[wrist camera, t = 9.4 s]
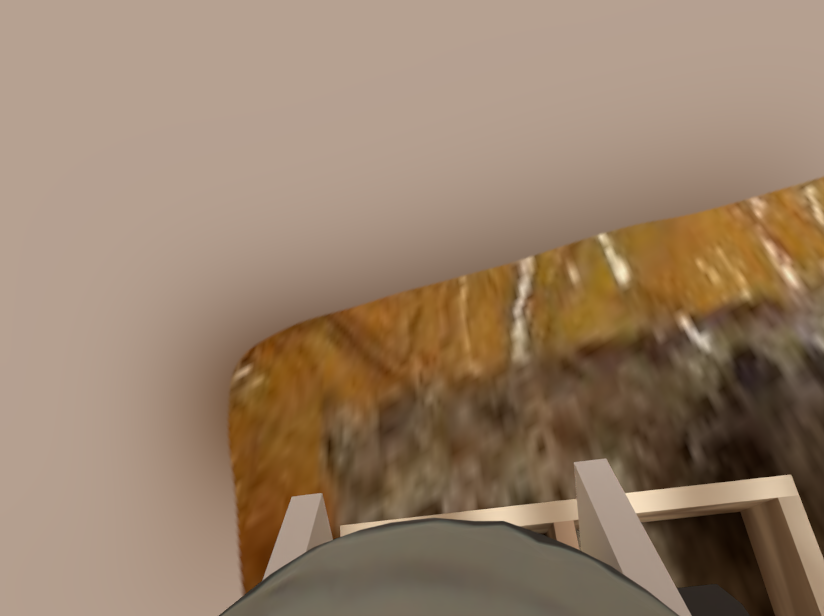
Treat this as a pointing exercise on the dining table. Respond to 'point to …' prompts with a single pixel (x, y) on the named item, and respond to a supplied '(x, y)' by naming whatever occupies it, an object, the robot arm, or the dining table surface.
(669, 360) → the dining table surface
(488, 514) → the birch caddy
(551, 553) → the sauce bottle
